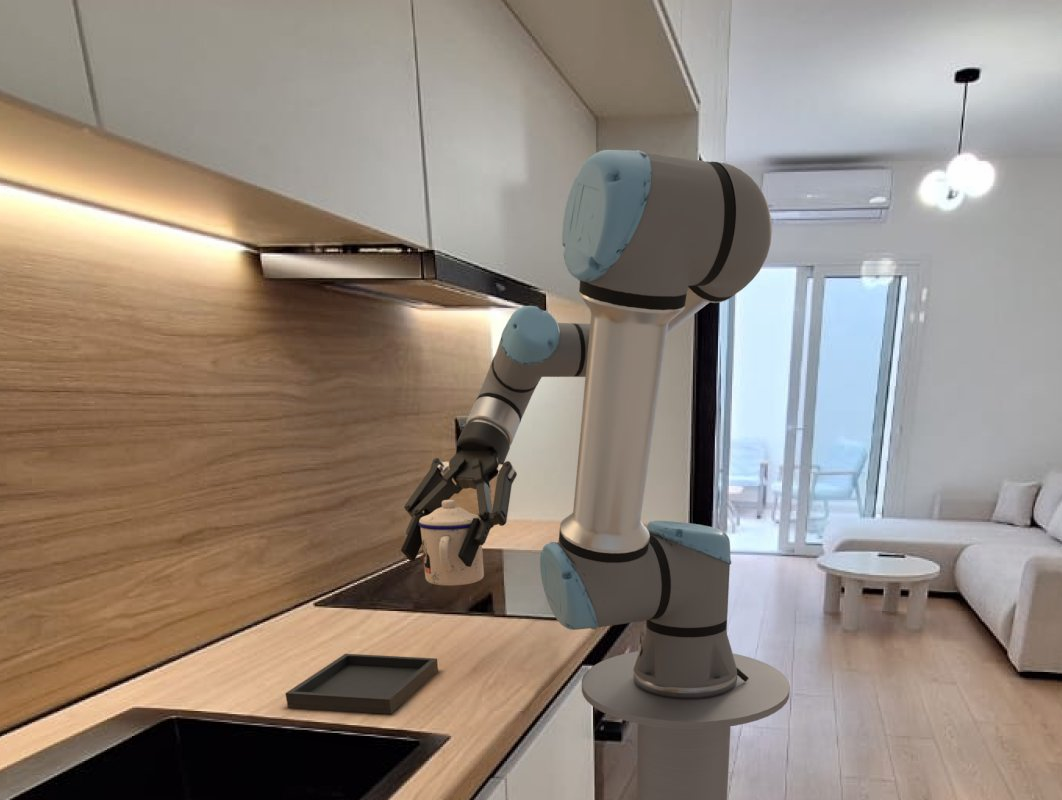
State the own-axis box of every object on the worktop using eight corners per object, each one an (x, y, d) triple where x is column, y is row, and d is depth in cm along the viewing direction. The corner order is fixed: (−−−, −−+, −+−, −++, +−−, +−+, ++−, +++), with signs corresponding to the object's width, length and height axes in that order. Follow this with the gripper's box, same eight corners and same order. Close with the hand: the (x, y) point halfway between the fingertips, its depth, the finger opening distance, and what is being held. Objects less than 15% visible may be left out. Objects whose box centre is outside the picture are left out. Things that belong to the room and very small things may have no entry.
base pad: (438, 671, 121) (437, 658, 120) (391, 714, 106) (389, 699, 105) (346, 666, 123) (345, 653, 122) (287, 707, 108) (285, 693, 107)
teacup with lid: (430, 572, 126) (423, 496, 121) (489, 572, 126) (483, 495, 122) (414, 592, 114) (405, 508, 110) (479, 590, 115) (472, 507, 111)
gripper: (559, 455, 124) (511, 579, 116) (440, 450, 132) (387, 566, 123) (541, 420, 117) (489, 549, 109) (416, 417, 125) (360, 538, 117)
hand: (435, 558), depth 116 cm, fingers closed on teacup with lid, 9 cm apart
